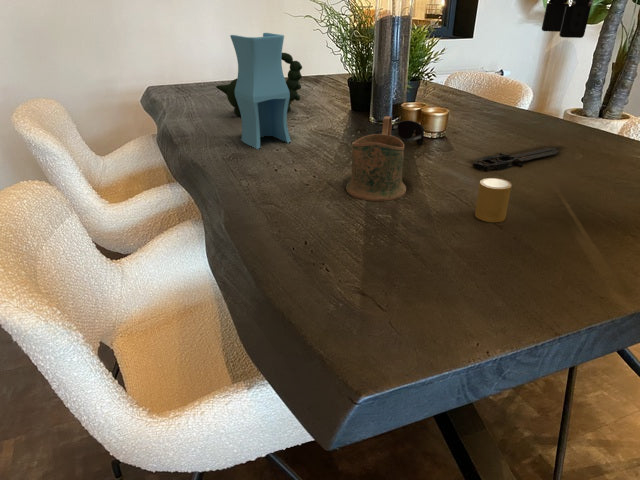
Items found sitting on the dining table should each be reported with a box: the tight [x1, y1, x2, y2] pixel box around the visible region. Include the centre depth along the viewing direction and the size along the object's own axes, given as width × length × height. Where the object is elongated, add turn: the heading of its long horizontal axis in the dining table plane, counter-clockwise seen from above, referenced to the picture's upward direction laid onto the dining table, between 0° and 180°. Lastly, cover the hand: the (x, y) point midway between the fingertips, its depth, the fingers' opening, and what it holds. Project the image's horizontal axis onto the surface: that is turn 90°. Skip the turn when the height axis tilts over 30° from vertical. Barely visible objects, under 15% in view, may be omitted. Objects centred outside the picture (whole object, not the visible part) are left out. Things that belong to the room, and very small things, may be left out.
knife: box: [472, 147, 560, 172], centre depth 109 cm, size 25×6×1 cm, turn 112°
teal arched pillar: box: [229, 32, 292, 150], centre depth 119 cm, size 10×10×25 cm
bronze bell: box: [345, 115, 407, 202], centre depth 95 cm, size 12×18×12 cm, turn 163°
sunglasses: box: [373, 119, 425, 146], centre depth 120 cm, size 10×12×5 cm
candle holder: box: [474, 177, 512, 223], centre depth 82 cm, size 5×5×6 cm
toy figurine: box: [215, 52, 303, 117], centre depth 145 cm, size 9×19×25 cm
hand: (560, 34), depth 74 cm, fingers open, 9 cm apart
